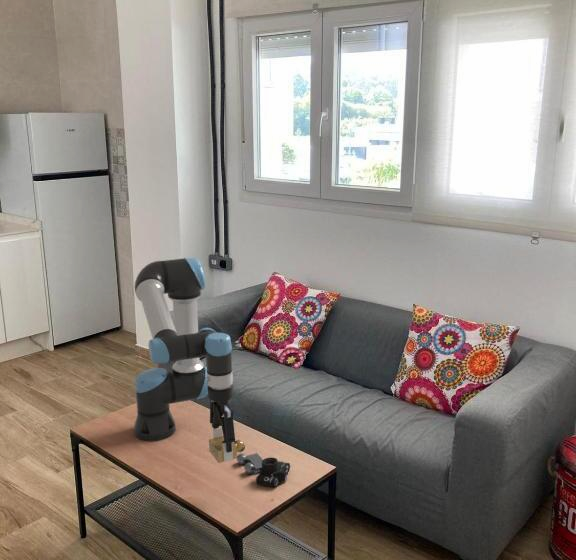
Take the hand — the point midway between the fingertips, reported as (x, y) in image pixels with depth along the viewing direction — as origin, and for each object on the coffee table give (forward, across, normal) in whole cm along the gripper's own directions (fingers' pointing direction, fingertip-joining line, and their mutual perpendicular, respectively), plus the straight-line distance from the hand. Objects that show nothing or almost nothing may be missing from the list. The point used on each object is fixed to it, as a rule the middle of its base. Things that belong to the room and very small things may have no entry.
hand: (223, 453), depth 197 cm
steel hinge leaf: (+13, -10, +13) cm, 21 cm away
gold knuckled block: (0, 0, +2) cm, 2 cm away
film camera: (+14, 0, +17) cm, 22 cm away
